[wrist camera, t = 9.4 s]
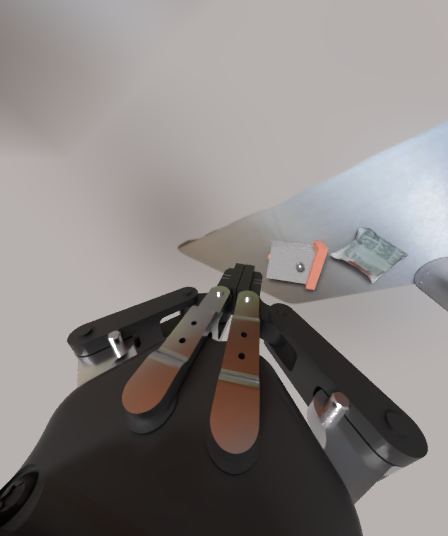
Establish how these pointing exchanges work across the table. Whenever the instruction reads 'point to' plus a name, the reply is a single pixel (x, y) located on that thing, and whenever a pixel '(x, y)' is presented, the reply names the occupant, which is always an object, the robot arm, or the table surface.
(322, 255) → the salmon angled bracket
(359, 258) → the packaged food
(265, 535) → the robot arm
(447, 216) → the table surface
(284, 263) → the metal block with knob
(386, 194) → the table surface
